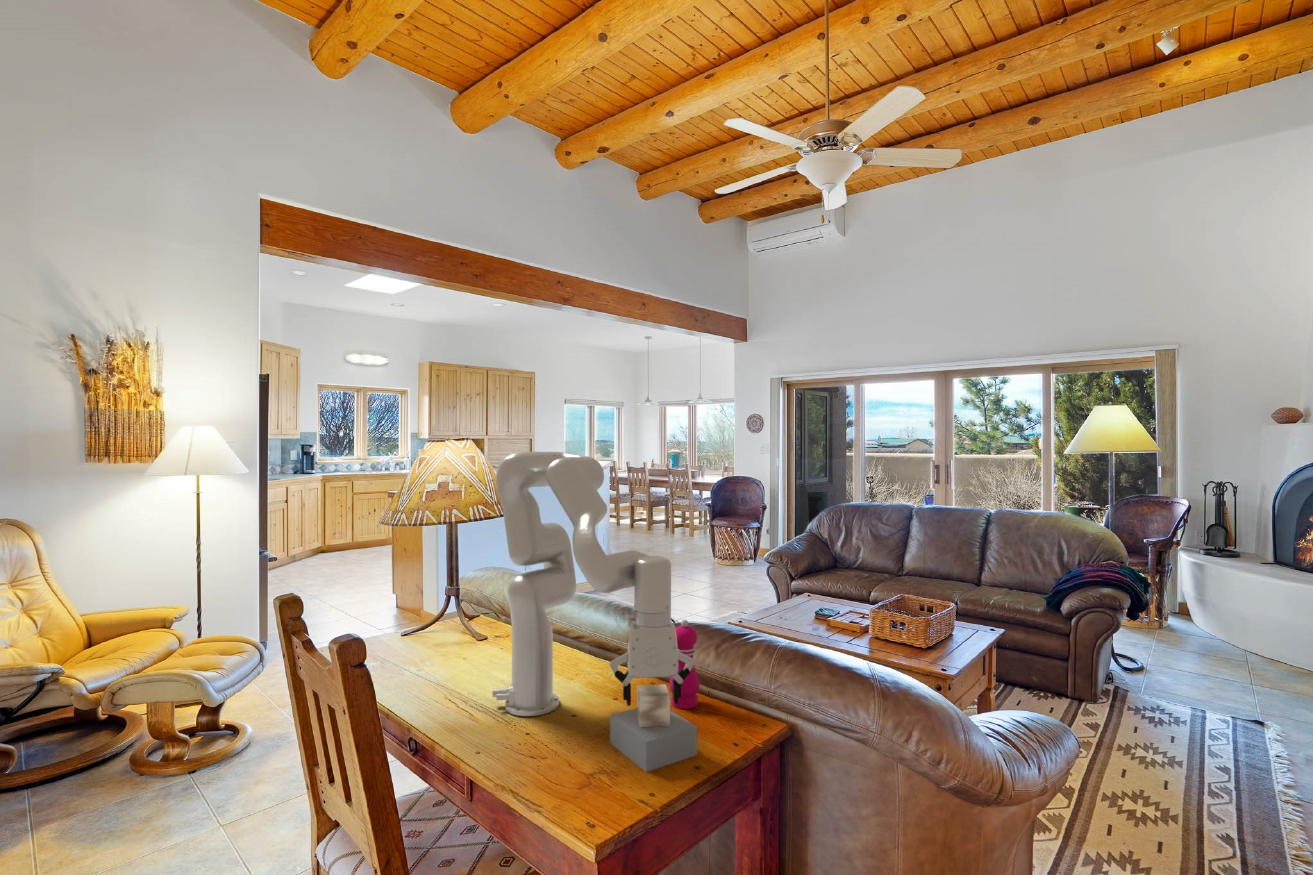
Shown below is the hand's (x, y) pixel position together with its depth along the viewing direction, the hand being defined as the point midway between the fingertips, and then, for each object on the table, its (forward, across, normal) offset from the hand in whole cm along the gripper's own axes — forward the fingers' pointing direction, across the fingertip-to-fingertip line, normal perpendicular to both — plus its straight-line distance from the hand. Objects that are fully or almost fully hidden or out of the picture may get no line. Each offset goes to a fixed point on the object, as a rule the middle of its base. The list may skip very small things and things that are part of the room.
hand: (652, 702), depth 128 cm
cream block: (+4, 0, 0) cm, 4 cm away
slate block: (+10, 0, 0) cm, 10 cm away
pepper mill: (+10, +10, +21) cm, 25 cm away
